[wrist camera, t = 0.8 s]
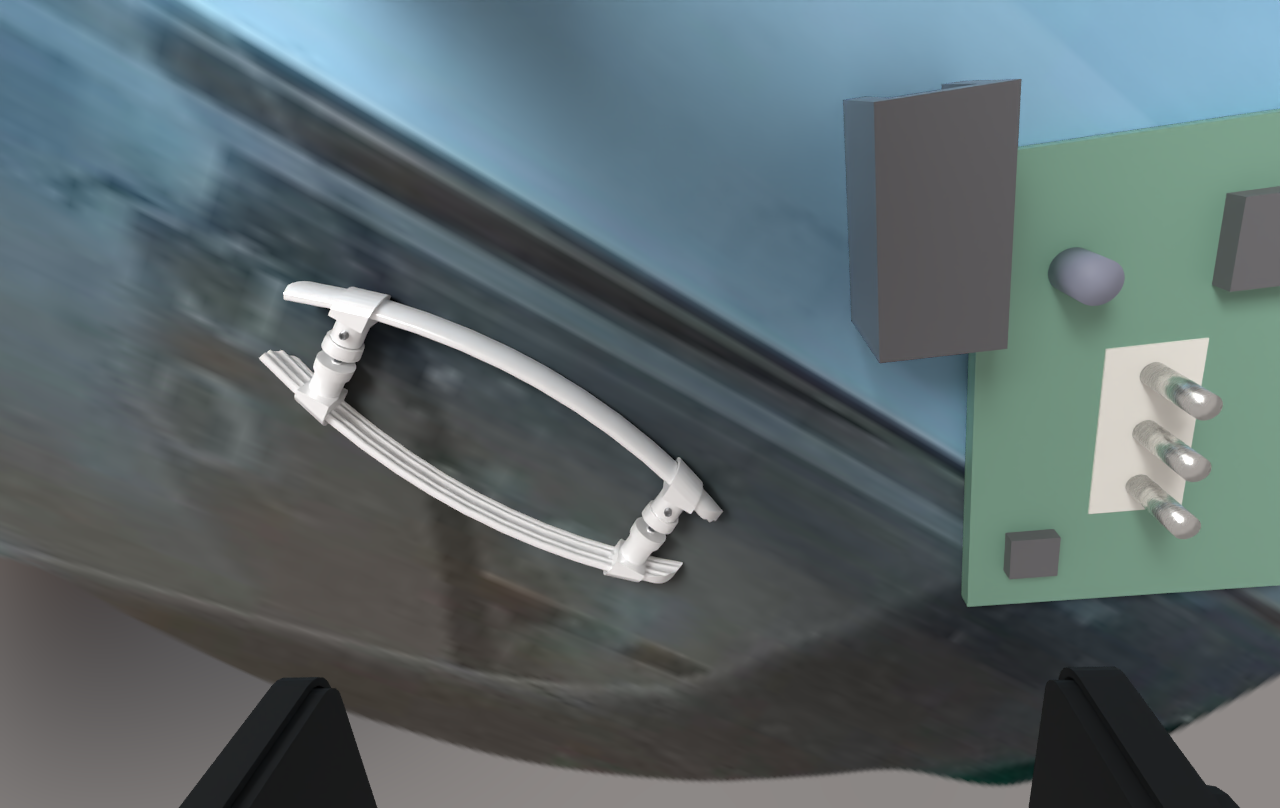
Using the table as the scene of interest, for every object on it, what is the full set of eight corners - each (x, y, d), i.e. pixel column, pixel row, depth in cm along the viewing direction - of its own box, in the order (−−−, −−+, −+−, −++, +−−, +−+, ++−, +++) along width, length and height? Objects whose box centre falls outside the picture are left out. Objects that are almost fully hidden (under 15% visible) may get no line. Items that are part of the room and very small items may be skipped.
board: (974, 153, 32) (1004, 160, 28) (1381, 93, 29) (1462, 94, 26) (961, 595, 41) (983, 636, 38) (1270, 573, 39) (1320, 615, 36)
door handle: (325, 230, 36) (748, 472, 39) (264, 385, 39) (655, 593, 43) (297, 240, 33) (751, 498, 37) (235, 405, 37) (652, 624, 40)
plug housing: (842, 99, 31) (873, 102, 26) (963, 80, 30) (1021, 79, 25) (851, 320, 35) (879, 363, 30) (957, 307, 34) (1007, 349, 29)
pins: (1140, 362, 34) (1193, 396, 30) (1167, 359, 34) (1225, 392, 30) (1122, 495, 36) (1170, 540, 33) (1148, 493, 36) (1198, 538, 33)
